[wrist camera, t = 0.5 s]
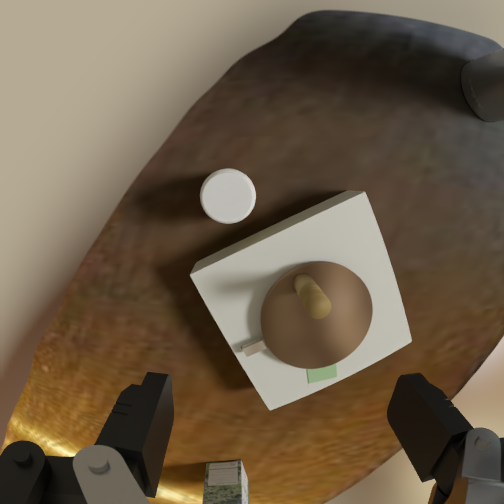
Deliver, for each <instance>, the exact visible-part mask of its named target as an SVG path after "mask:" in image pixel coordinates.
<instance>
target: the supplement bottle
mask: <svg viewBox="0 0 504 504" xmlns="http://www.w3.org/2000/svg"><path fill="white" fill-rule="evenodd" d="M200 201H201V205H202V207H203V209H204V211H205V212H206V214H207V215H208V216H209V217H210V218H212V219H213V220H215V221H217V222H220V223H225V224H231V223H236V222H239V221H241V220H243V219H244V218H246V217H247V216H248V215H249V214H250V212H251V211H252V209H253V207H254V205H255V201H256V192H255V188H254V185H253V183H252V181H251V180H250V179H249V178H248V177H247V176H246V175H245V174H244V173H242V172H240V171H238V170H235V169H221V170H218V171H215V172H214V173H212V174H211V175H210V176H208V177H207V179H206V180H205V181H204V183H203V185H202V187H201V191H200Z"/></svg>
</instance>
